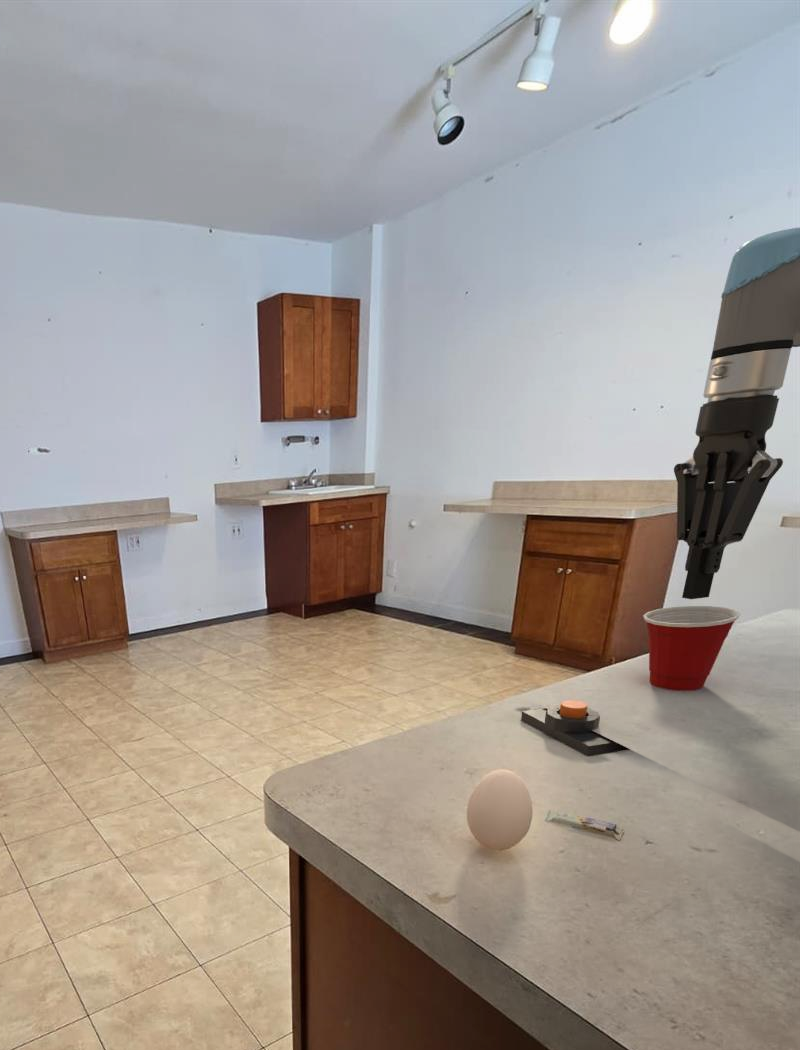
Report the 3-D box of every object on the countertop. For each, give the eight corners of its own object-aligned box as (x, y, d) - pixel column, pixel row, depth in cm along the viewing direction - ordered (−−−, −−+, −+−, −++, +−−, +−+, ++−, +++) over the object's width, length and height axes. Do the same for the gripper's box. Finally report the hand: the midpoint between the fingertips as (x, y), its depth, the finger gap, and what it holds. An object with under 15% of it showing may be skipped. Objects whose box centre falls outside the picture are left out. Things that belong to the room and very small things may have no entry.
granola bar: (542, 825, 63) (543, 815, 63) (548, 815, 65) (550, 806, 64) (619, 844, 59) (621, 834, 59) (624, 833, 61) (626, 824, 60)
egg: (538, 860, 57) (551, 781, 54) (479, 866, 57) (488, 787, 54) (509, 829, 62) (519, 755, 59) (454, 835, 62) (461, 761, 59)
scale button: (574, 710, 82) (576, 699, 82) (591, 718, 79) (593, 706, 79) (553, 713, 82) (555, 702, 81) (569, 721, 79) (571, 709, 78)
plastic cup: (617, 683, 98) (632, 605, 93) (696, 683, 96) (716, 602, 91) (644, 707, 88) (662, 621, 84) (733, 707, 86) (757, 618, 81)
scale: (636, 704, 90) (641, 683, 89) (718, 736, 78) (724, 713, 77) (517, 721, 87) (520, 700, 86) (583, 757, 75) (587, 734, 74)
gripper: (667, 405, 81) (633, 593, 91) (765, 391, 70) (714, 608, 79) (718, 401, 83) (678, 587, 92) (823, 387, 71) (765, 601, 81)
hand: (695, 597), depth 86 cm, fingers closed
